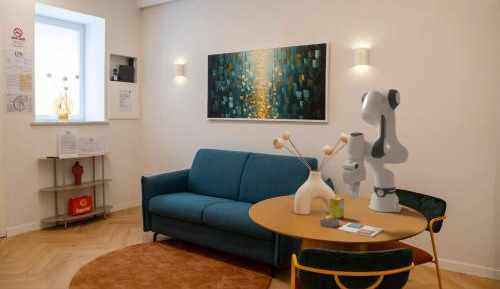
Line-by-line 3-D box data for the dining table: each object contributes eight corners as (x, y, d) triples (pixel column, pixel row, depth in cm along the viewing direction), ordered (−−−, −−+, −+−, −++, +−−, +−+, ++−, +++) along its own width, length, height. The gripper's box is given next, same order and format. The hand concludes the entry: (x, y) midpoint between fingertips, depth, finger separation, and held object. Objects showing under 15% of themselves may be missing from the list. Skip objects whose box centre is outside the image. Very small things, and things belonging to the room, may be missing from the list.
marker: (352, 197, 209) (352, 178, 209) (360, 198, 206) (360, 179, 206) (348, 198, 206) (349, 179, 205) (356, 199, 203) (357, 180, 203)
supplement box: (334, 215, 226) (334, 196, 225) (343, 217, 222) (344, 198, 222) (329, 217, 222) (329, 198, 221) (338, 219, 218) (339, 199, 217)
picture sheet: (349, 223, 210) (349, 222, 210) (383, 230, 199) (383, 228, 199) (337, 229, 199) (337, 228, 199) (372, 237, 188) (372, 235, 188)
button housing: (326, 222, 212) (326, 216, 212) (338, 224, 208) (338, 219, 207) (320, 225, 207) (320, 219, 206) (332, 227, 202) (332, 222, 202)
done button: (327, 220, 210) (328, 215, 210) (334, 222, 207) (335, 216, 207) (324, 222, 207) (324, 216, 206) (331, 223, 204) (331, 218, 204)
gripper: (358, 162, 215) (357, 187, 216) (340, 165, 199) (340, 192, 200) (369, 163, 211) (368, 188, 212) (352, 166, 195) (351, 194, 196)
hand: (354, 190), depth 206 cm, fingers closed on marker, 4 cm apart
